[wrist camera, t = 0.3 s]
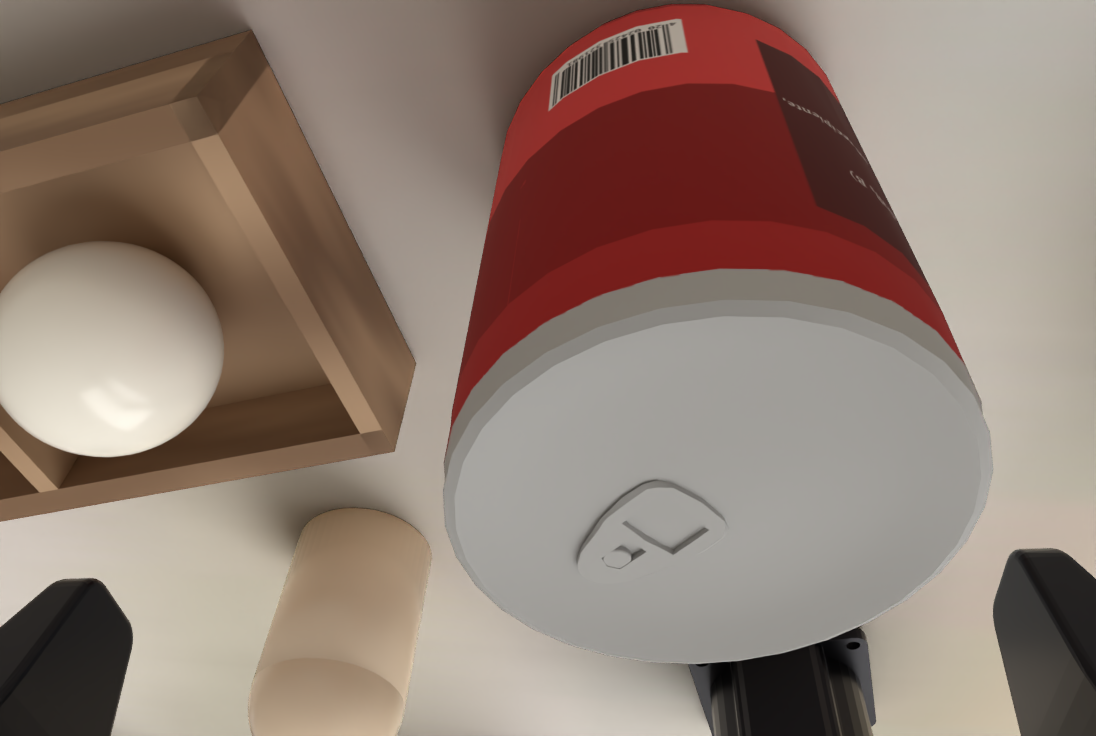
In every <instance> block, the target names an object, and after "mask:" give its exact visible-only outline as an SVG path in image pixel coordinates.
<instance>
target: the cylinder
mask: <svg viewBox="0 0 1096 736" xmlns="http://www.w3.org/2000/svg"><path fill="white" fill-rule="evenodd" d="M431 560H432V557H431V550H430V547H429V545H428V543H427V541H426V540H425V538H424V537H423V536H422V535H421V534H420V532H419V531H417V530H416V529H415V528H414V527H413V526H411V525H410V524H408V523H407V522H405V521H403V520H401V519H400V518H397V517H395V516H393V515H390V514H387V513H384V512H381V511H377V510H372V509H365V508H342V509H336V510H331V511H328V512H325V513H322V514H320V515H318V516H316V517H315V518H313V519H312V520H310V521H309V522H308V523H307V524H306V525H305V527H304V528H303V530H302V532H301V534H300V537H299V541H298V544H297V547H296V550H295V553H294V556H293V559H292V562H291V565H290V568H289V571H288V574H287V577H286V581H285V584H284V587H283V590H282V593H281V596H280V599H279V602H278V605H277V608H276V611H275V614H274V617H273V620H272V624H271V627H270V630H269V633H268V636H267V639H266V642H265V645H264V648H263V651H262V654H261V657H260V660H259V664H258V667H257V670H256V673H255V676H254V679H253V682H252V686H251V690H250V694H249V702H248V717H249V725H250V730H251V733H252V736H396V735H397V733H398V731H399V728H400V726H401V723H402V720H403V716H404V711H405V706H406V700H407V694H408V689H409V683H410V678H411V672H412V666H413V661H414V655H415V650H416V644H417V639H418V633H419V627H420V622H421V616H422V611H423V605H424V599H425V594H426V588H427V583H428V577H429V571H430V566H431Z"/></svg>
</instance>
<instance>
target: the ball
mask: <svg viewBox="0 0 1096 736" xmlns="http://www.w3.org/2000/svg"><path fill="white" fill-rule="evenodd" d="M223 361H224V339H223V332H222V328H221V324H220V320H219V317H218V314H217V312H216V309H215V307H214V306H213V304H212V302H211V300H210V298H209V297H208V295H207V293H206V292H205V291H204V289H203V288H202V286H201V285H200V284H199V283H198V282H197V281H196V280H195V279H194V277H192V276H191V275H190V274H189V273H188V272H187V271H186V270H185V269H183V268H182V267H181V266H179V265H178V264H176V263H175V262H173V261H172V260H170V259H168V258H167V257H165V256H163V255H161V254H159V253H157V252H155V251H152V250H150V249H147V248H144V247H141V246H138V245H134V244H130V243H124V242H114V241H89V242H83V243H78V244H72V245H68V246H65V247H62V248H59V249H56V250H53V251H51V252H48V253H46V254H44V255H43V256H41V257H39V258H37V259H35V260H34V261H32V262H31V263H29V264H28V265H27V266H25V267H24V268H23V269H21V270H20V271H19V272H18V273H17V274H16V275H15V276H14V277H13V278H12V279H11V280H10V281H9V282H8V284H7V285H6V286H5V287H4V289H3V290H2V291H1V293H0V404H1V405H2V407H3V408H4V409H5V410H6V412H7V413H8V414H9V415H10V416H11V417H12V419H13V420H14V421H15V422H16V423H17V424H18V425H19V426H21V427H22V428H23V429H24V430H25V431H27V432H28V433H30V434H31V435H32V436H34V437H35V438H37V439H39V440H40V441H42V442H44V443H46V444H48V445H50V446H53V447H55V448H58V449H60V450H63V451H66V452H70V453H74V454H78V455H85V456H93V457H117V456H124V455H132V454H136V453H140V452H143V451H146V450H149V449H152V448H154V447H157V446H159V445H161V444H163V443H165V442H167V441H169V440H170V439H172V438H174V437H175V436H177V435H178V434H180V433H181V432H182V431H183V430H185V429H186V428H187V427H188V426H190V425H191V424H192V423H193V422H194V421H195V420H196V419H197V417H198V416H199V415H200V414H201V413H202V412H203V410H204V409H205V408H206V406H207V405H208V403H209V401H210V400H211V398H212V396H213V394H214V392H215V390H216V388H217V385H218V383H219V379H220V376H221V373H222V367H223Z"/></svg>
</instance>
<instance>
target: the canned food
mask: <svg viewBox="0 0 1096 736" xmlns="http://www.w3.org/2000/svg"><path fill="white" fill-rule="evenodd" d="M444 472H445V484H444V489H443V497H444V515H445V527H446V529H447V532H448V535H449V538H450V541H451V543H452V546H453V549H454V552H455V555H456V557H457V559H458V560H459V562H460V563H461V565H462V566H463V568H464V569H465V570H466V572H467V573H468V575H469V576H470V578H471V579H472V581H473V582H474V584H475V585H476V586H477V587H478V588H479V589H480V590H481V591H482V592H483V593H484V594H486V595H487V596H488V597H489V598H490V599H491V600H492V601H493V602H494V603H495V604H496V605H497V606H498V607H499V608H501V609H502V610H503V611H505V612H506V613H508V614H510V615H511V616H513V617H514V618H516V619H517V620H519V621H521V622H522V623H524V624H525V625H527V626H529V627H530V628H532V629H533V630H536V631H538V632H540V633H543V634H545V635H547V636H550V637H552V638H554V639H556V640H559V641H561V642H563V643H566V644H568V645H571V646H575V647H578V648H582V649H585V650H589V651H593V652H596V653H600V654H603V655H607V656H612V657H619V658H625V659H632V660H639V661H645V662H655V663H683V664H701V663H715V662H729V661H741V660H747V659H752V658H758V657H763V656H769V655H774V654H780V653H785V652H788V651H792V650H795V649H799V648H802V647H805V646H809V645H812V644H815V643H819V642H822V641H826V640H829V639H831V638H833V637H836V636H838V635H840V634H843V633H845V632H847V631H850V630H852V629H854V628H857V627H859V626H861V625H864V624H866V623H868V622H870V621H872V620H874V619H875V618H877V617H879V616H880V615H882V614H884V613H885V612H887V611H889V610H890V609H892V608H894V607H895V606H897V605H899V604H901V603H902V602H904V601H906V600H907V599H908V598H910V597H911V596H912V595H913V594H915V593H916V592H917V591H918V590H919V589H921V588H922V587H923V586H924V585H926V584H927V583H928V582H929V581H930V580H932V579H933V578H934V577H935V576H937V575H938V574H939V573H940V572H941V571H942V570H943V569H944V567H945V566H946V565H947V564H948V563H949V562H950V560H951V559H952V558H953V557H954V556H955V555H956V553H957V552H958V551H959V550H960V549H961V547H962V546H963V545H964V544H965V543H966V542H967V540H968V538H969V536H970V534H971V532H972V530H973V528H974V527H975V525H976V523H977V521H978V519H979V517H980V515H981V513H982V511H983V510H984V508H985V504H986V500H987V495H988V491H989V486H990V482H991V478H992V473H993V462H992V451H991V440H990V431H989V429H988V427H987V425H986V422H985V420H984V418H983V414H982V403H981V400H980V397H979V395H978V393H977V391H976V388H975V386H974V384H973V381H972V379H971V377H970V374H969V372H968V370H967V367H966V365H965V363H964V361H963V359H962V357H961V355H960V352H959V350H958V347H957V345H956V343H955V340H954V338H953V336H952V333H951V331H950V329H949V327H948V324H947V322H946V320H945V317H944V315H943V313H942V311H941V309H940V307H939V305H938V303H937V301H936V298H935V296H934V294H933V292H932V290H931V288H930V286H929V284H928V282H927V280H926V278H925V276H924V274H923V272H922V270H921V268H920V266H919V264H918V262H917V260H916V258H915V256H914V254H913V251H912V249H911V247H910V245H909V243H908V241H907V239H906V237H905V235H904V233H903V231H902V229H901V227H900V225H899V223H898V221H897V219H896V217H895V215H894V213H893V211H892V209H891V206H890V204H889V202H888V200H887V198H886V196H885V194H884V192H883V190H882V188H881V186H880V184H879V182H878V180H877V178H876V176H875V174H874V172H873V170H872V168H871V166H870V164H869V162H868V159H867V157H866V155H865V153H864V151H863V149H862V147H861V145H860V143H859V141H858V139H857V137H856V135H855V133H854V131H853V129H852V127H851V125H850V123H849V121H848V119H847V117H846V115H845V112H844V110H843V108H842V106H841V104H840V102H839V100H838V98H837V96H836V94H835V92H834V90H833V88H832V86H831V84H830V82H829V80H828V78H827V76H826V74H825V73H824V72H823V70H822V69H821V68H820V67H819V65H818V64H817V63H816V61H815V60H814V59H813V58H812V56H811V55H810V54H809V53H808V51H807V50H806V49H805V48H804V47H802V46H801V45H800V44H798V43H797V42H796V41H795V40H793V39H792V38H791V37H790V36H788V35H787V34H786V33H784V32H783V31H782V30H781V29H779V28H777V27H775V26H773V25H771V24H769V23H766V22H764V21H762V20H760V19H758V18H756V17H753V16H751V15H749V14H747V13H742V12H738V11H733V10H729V9H724V8H720V7H715V6H710V5H706V4H669V5H663V6H658V7H653V8H648V9H643V10H638V11H635V12H632V13H630V14H627V15H625V16H622V17H620V18H617V19H615V20H612V21H610V22H607V23H605V24H603V25H601V26H600V27H598V28H597V29H595V30H593V31H592V32H590V33H589V34H587V35H586V36H584V37H582V38H581V39H579V40H578V41H576V42H575V43H573V44H572V45H571V46H569V47H568V48H567V49H566V50H565V51H564V52H562V53H561V54H560V55H559V56H558V57H557V58H556V59H555V60H554V61H553V62H552V63H551V64H550V65H549V66H548V67H547V68H546V69H544V70H543V71H542V72H541V74H540V75H539V76H538V78H537V79H536V81H535V82H534V83H533V85H532V86H531V87H530V89H529V90H528V92H527V93H526V94H525V96H524V97H523V99H522V100H521V102H520V104H519V106H518V108H517V111H516V113H515V115H514V117H513V120H512V122H511V124H510V126H509V128H508V131H507V135H506V139H505V144H504V148H503V153H502V157H501V162H500V167H499V172H498V177H497V182H496V188H495V193H494V198H493V203H492V208H491V213H490V219H489V224H488V229H487V234H486V239H485V244H484V249H483V255H482V260H481V265H480V270H479V275H478V280H477V285H476V291H475V296H474V301H473V306H472V311H471V316H470V322H469V327H468V332H467V337H466V342H465V347H464V352H463V358H462V363H461V368H460V373H459V378H458V383H457V389H456V394H455V399H454V404H453V409H452V417H451V427H450V433H449V438H448V444H447V449H446V454H445V460H444Z"/></svg>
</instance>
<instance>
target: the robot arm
mask: <svg viewBox="0 0 1096 736" xmlns="http://www.w3.org/2000/svg"><path fill="white" fill-rule="evenodd" d="M993 619H994V626H995V631H996V635H997V639H998V643H999V647H1000V651H1001V655H1002V659H1003V663H1004V667H1005V672H1006V676H1007V680H1008V684H1009V688H1010V692H1011V696H1012V700H1013V704H1014V708H1015V713H1016V717H1017V721H1018V725H1019V729H1020V733H1021V736H1096V579H1095V578H1094V577H1093V576H1092V575H1091V574H1090V573H1088V572H1087V571H1086V570H1085V569H1084V568H1083V567H1082V566H1081V565H1079V564H1078V563H1077V562H1076V561H1075V560H1074V559H1073V558H1071V557H1070V556H1069V555H1068V554H1066V553H1065V552H1063V551H1061V550H1058V549H1053V548H1043V549H1019V550H1015V551H1014V552H1013V553H1011V554H1010V556H1009V558H1008V560H1007V563H1006V566H1005V569H1004V572H1003V575H1002V578H1001V581H1000V584H999V588H998V591H997V594H996V597H995V600H994V605H993ZM132 644H133V633H132V627H131V624H130V622H129V620H128V619H127V617H126V616H125V614H124V613H123V611H122V610H121V608H120V607H119V605H118V604H117V602H116V601H115V600H114V598H113V597H112V595H111V594H110V592H109V591H108V589H107V588H106V586H105V585H104V584H103V583H102V582H101V581H99V580H97V579H94V578H81V579H63V580H59V581H56V582H55V583H53V584H51V585H50V586H49V587H47V588H46V589H45V590H44V591H42V592H41V593H40V594H39V595H38V596H37V597H35V598H34V599H33V600H32V601H31V602H30V603H28V604H27V605H26V606H25V607H24V608H22V609H21V610H20V611H19V612H18V613H17V614H15V615H14V616H13V617H12V618H11V619H10V620H8V621H7V622H6V623H5V624H4V625H2V626H1V627H0V736H111V732H112V728H113V724H114V720H115V716H116V712H117V708H118V703H119V699H120V695H121V691H122V687H123V683H124V679H125V674H126V670H127V666H128V662H129V658H130V654H131V650H132ZM688 665H689V668H690V671H691V674H692V677H693V680H694V683H695V686H696V689H697V692H698V695H699V698H700V701H701V704H702V707H703V709H704V712H705V715H706V718H707V721H708V724H709V727H710V730H711V733H712V736H873V733H872V729H871V726H873V725H874V724H875V723H876V716H875V707H874V698H873V689H872V680H871V671H870V662H869V653H868V644H867V640H866V636H865V633H864V632H863V631H862V630H860V629H856V628H854V629H852V630H850V631H847V632H845V633H843V634H840V635H838V636H836V637H833V638H831V639H829V640H826V641H822V642H819V643H815V644H812V645H809V646H805V647H802V648H799V649H795V650H792V651H788V652H785V653H780V654H774V655H769V656H763V657H758V658H752V659H747V660H741V661H729V662H715V663H701V664H688Z"/></svg>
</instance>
